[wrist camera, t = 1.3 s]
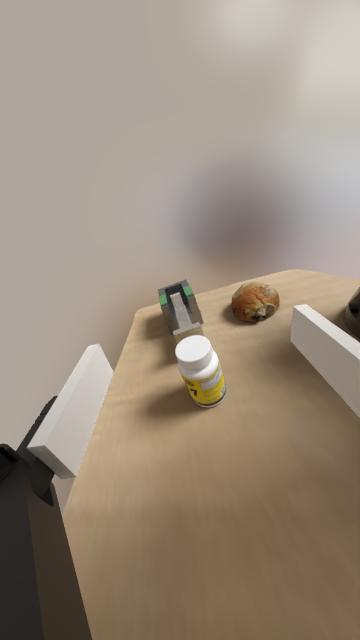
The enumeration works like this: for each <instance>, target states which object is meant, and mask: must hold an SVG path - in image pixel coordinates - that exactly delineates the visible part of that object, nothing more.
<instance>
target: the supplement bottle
mask: <svg viewBox="0 0 360 640" xmlns="http://www.w3.org/2000/svg"><path fill="white" fill-rule="evenodd" d="M175 354H176V357H177V360H178V368H179V371H180V373H181V375H182V378H183V380H184V382H185V384H186V386H187V388H188V390H189V392H190V395H191V397H192V399H193V400H194V401H195V402H196V403H197V404H198V405H200V406H202V407H214V406H216V405H218V404H219V403H220V402H222V400H223V399H224V398H225V395H226V384H225V381H224V377H223V374H222V370H221V366H220V363H219V359H218V356H217V354H216V353H215V352H214V351H213V350H212V347H211V344H210V341H209V340H208V339H207V338H206V337H204V336H200V335H194V336H189V337H187V338H185V339H183V340H182V341H180V342H179V343H178V345H177V347H176V349H175Z"/></svg>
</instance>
